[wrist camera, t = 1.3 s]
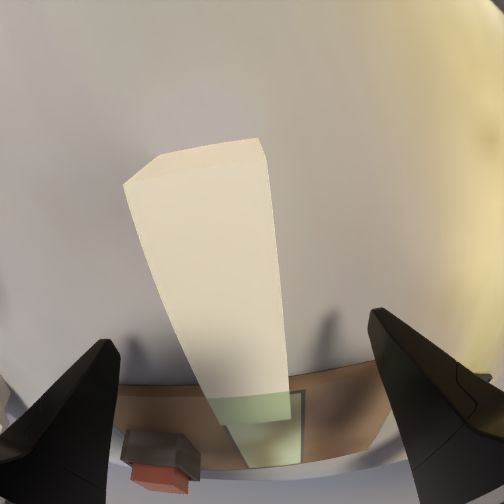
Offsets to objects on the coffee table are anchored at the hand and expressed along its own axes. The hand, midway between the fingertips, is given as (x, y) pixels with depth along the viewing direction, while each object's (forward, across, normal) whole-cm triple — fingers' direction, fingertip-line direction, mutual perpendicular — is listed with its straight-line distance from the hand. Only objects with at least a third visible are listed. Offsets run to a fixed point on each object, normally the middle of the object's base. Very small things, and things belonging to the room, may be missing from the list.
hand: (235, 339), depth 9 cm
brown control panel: (+3, +1, +14) cm, 14 cm away
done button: (0, +8, +14) cm, 16 cm away
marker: (+3, 0, 0) cm, 3 cm away
